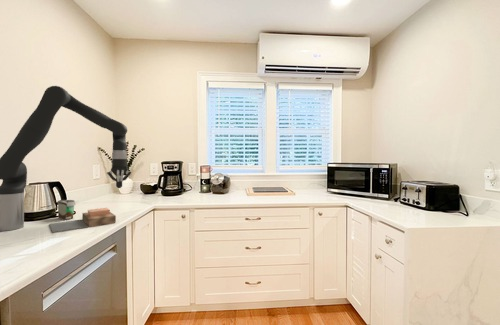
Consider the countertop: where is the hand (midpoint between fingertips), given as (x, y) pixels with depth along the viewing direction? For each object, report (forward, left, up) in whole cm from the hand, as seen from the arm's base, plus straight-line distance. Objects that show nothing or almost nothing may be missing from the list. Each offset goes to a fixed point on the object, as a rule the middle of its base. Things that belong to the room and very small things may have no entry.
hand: (119, 187), depth 133 cm
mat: (-23, 0, -18) cm, 29 cm away
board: (-10, 0, -18) cm, 21 cm away
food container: (-21, +19, -18) cm, 34 cm away
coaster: (-10, 0, -14) cm, 17 cm away
